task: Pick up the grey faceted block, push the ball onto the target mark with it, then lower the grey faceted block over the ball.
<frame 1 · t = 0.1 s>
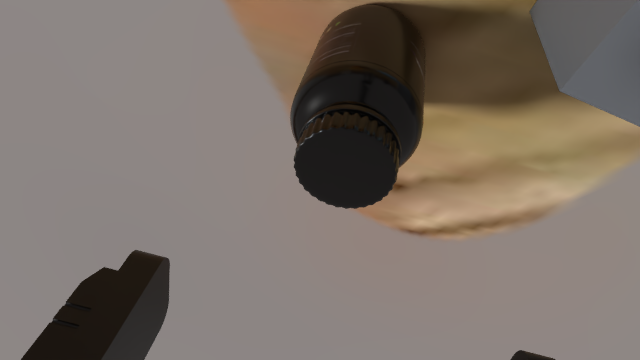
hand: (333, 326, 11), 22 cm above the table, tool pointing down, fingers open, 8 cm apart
supplement bottle: (371, 51, 30), on the table
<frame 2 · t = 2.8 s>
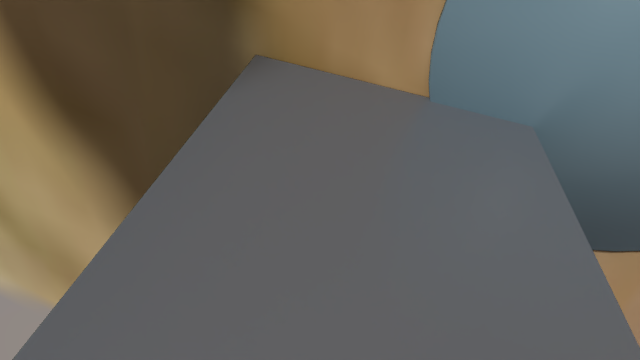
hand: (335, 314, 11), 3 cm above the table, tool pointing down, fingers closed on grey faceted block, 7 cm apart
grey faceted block: (350, 225, 14), on the table, touching gripper
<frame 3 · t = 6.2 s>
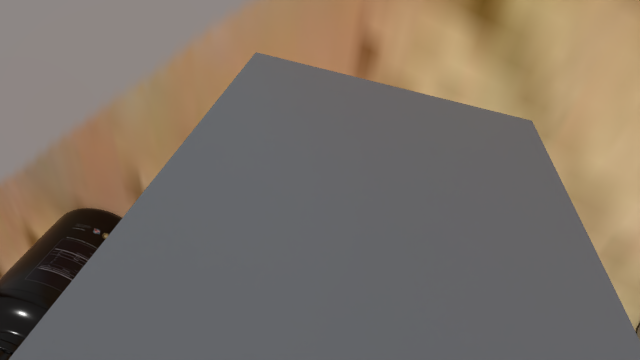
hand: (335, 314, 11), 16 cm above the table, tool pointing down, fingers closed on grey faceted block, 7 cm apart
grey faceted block: (350, 224, 14), point 12 cm above the table, touching gripper
supplement bottle: (108, 241, 34), on the table
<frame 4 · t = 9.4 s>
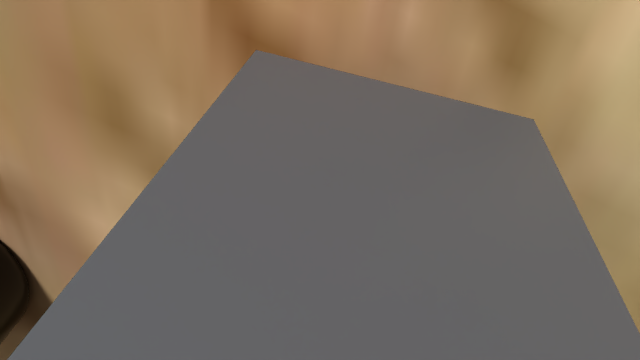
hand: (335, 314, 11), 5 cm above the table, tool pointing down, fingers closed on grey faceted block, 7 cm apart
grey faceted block: (351, 222, 14), point 1 cm above the table, touching gripper
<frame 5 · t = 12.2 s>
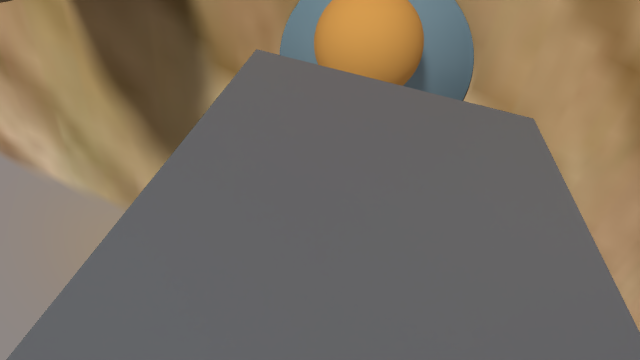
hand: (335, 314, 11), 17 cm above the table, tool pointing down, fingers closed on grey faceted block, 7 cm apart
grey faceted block: (351, 222, 14), point 13 cm above the table, touching gripper
ball: (368, 43, 22), on the table
target mark: (373, 66, 25), on the table
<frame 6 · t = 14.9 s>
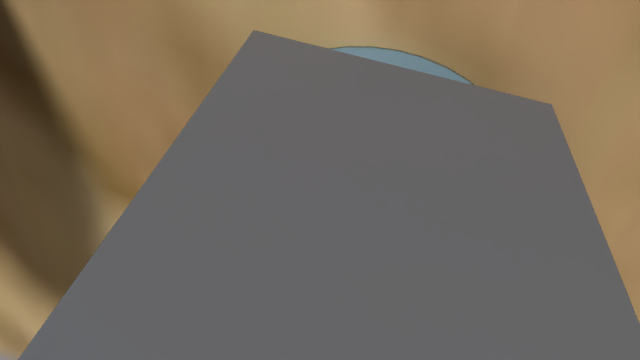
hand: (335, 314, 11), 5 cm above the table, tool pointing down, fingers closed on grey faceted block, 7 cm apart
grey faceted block: (356, 206, 13), point 1 cm above the table, tilted 6°, touching gripper
target mark: (359, 203, 15), on the table
when the fingers open (4 cm above the table, at t = 15.8 s): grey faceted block stays where it is, on the table.
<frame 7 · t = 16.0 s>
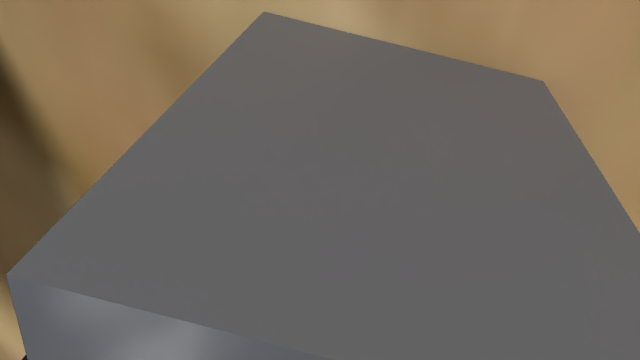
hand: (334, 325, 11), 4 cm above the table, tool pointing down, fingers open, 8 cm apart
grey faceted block: (357, 192, 14), on the table
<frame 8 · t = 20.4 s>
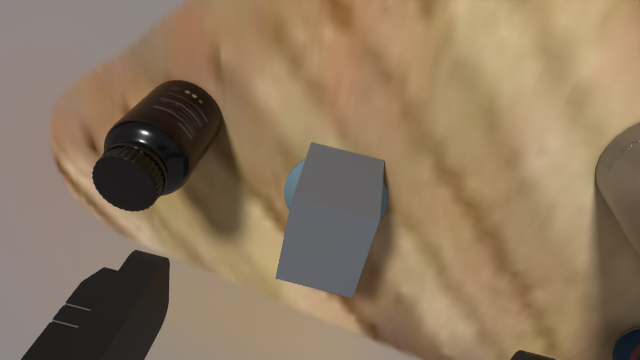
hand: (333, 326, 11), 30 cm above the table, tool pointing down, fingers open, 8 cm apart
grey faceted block: (337, 189, 45), on the table
supplement bottle: (188, 111, 44), on the table
target mark: (335, 197, 46), on the table
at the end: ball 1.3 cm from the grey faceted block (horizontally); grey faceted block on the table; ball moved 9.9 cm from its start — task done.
